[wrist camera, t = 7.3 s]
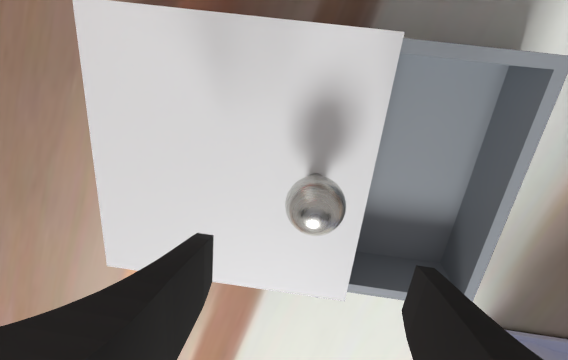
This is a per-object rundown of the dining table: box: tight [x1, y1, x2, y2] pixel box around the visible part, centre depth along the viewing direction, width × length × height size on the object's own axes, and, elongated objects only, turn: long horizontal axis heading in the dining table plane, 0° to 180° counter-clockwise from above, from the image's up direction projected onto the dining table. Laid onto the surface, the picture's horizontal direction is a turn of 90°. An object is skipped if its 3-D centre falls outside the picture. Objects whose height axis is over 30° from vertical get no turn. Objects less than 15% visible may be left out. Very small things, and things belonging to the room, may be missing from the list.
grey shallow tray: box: [347, 38, 568, 302], centre depth 19 cm, size 14×14×4 cm
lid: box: [73, 0, 404, 301], centre depth 15 cm, size 14×14×4 cm
